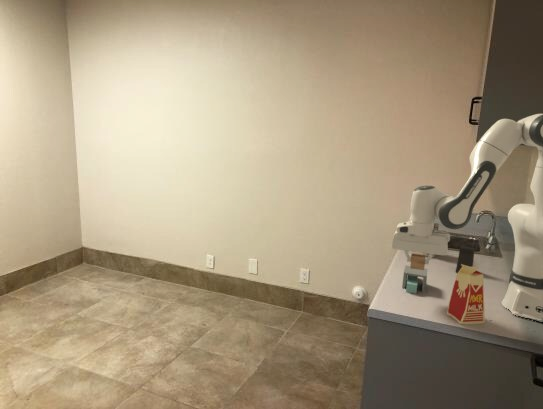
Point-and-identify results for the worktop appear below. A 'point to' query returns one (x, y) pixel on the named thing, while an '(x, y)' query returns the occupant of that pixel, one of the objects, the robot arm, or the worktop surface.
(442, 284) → the worktop surface
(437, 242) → the robot arm
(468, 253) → the phone stand
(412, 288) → the bar
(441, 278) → the worktop surface
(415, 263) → the cube
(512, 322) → the worktop surface
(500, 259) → the worktop surface
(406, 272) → the tunnel
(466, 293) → the milk carton
